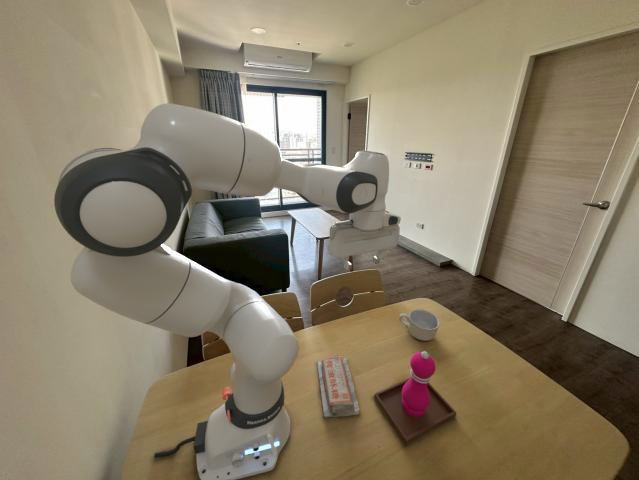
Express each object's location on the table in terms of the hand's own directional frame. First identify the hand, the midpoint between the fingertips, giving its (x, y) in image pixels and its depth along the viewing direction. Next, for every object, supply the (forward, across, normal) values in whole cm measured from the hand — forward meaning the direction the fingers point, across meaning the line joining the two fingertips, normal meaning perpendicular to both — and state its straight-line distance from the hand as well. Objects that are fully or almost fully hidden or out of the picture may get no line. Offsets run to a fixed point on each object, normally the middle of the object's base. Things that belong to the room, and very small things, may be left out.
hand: (362, 265), depth 69 cm
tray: (+37, +8, -19) cm, 42 cm away
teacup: (+37, +30, +3) cm, 48 cm away
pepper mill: (+37, +8, -19) cm, 42 cm away
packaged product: (+37, -9, -5) cm, 39 cm away
